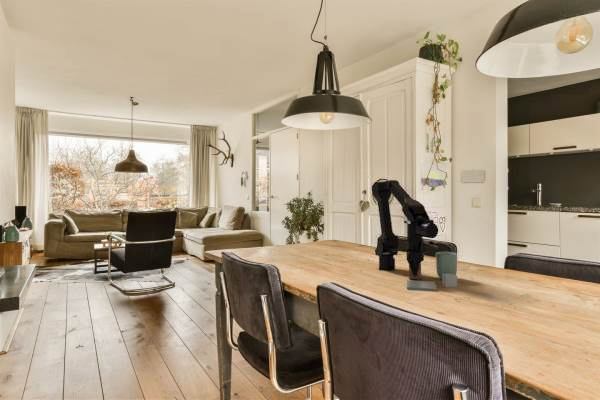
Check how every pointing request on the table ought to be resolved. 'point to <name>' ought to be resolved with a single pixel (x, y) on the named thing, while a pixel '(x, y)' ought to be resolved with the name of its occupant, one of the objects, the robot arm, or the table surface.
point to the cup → (446, 263)
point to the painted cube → (449, 280)
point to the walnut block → (417, 273)
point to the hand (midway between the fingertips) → (415, 274)
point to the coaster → (421, 285)
